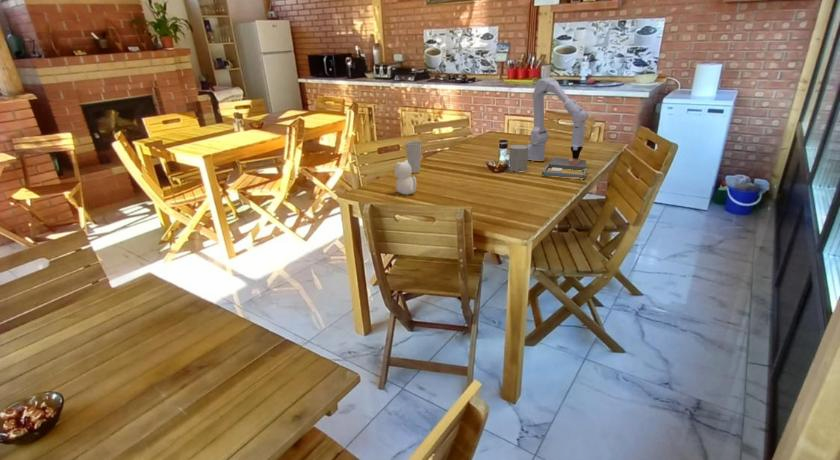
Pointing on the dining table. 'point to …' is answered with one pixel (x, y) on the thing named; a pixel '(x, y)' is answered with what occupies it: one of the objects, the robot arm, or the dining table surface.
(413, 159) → the cup
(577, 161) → the terracotta tile
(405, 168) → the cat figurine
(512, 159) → the grey canister
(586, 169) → the tray
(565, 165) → the plate
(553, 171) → the cream tile
